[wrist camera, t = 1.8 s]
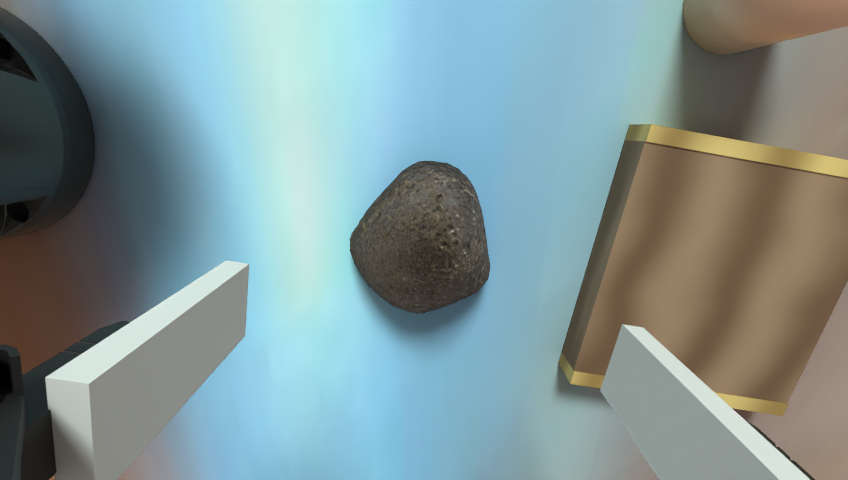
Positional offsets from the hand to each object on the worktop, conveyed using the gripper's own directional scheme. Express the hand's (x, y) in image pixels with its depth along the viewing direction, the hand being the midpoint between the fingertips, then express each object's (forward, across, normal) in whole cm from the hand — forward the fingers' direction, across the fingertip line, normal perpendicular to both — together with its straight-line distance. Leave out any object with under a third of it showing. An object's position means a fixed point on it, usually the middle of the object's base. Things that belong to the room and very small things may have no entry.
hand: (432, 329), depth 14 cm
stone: (+15, 0, 0) cm, 15 cm away
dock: (+15, +20, 0) cm, 25 cm away
